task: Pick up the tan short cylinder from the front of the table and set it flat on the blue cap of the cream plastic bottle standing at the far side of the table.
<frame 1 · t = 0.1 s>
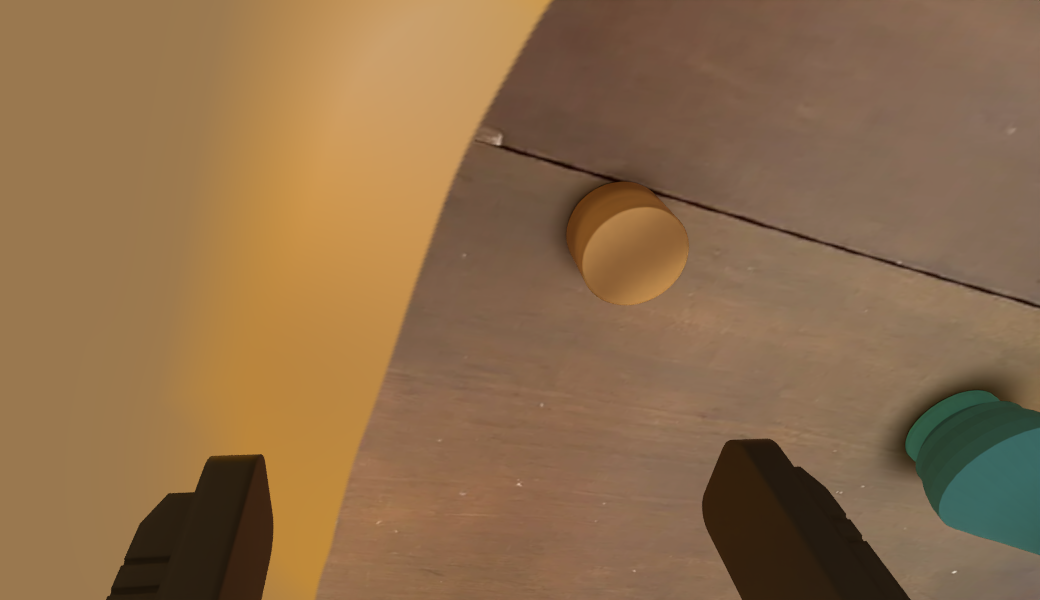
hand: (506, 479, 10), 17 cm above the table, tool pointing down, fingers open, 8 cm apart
perfume bottle: (949, 425, 41), on the table
tan short cylinder: (615, 229, 28), on the table
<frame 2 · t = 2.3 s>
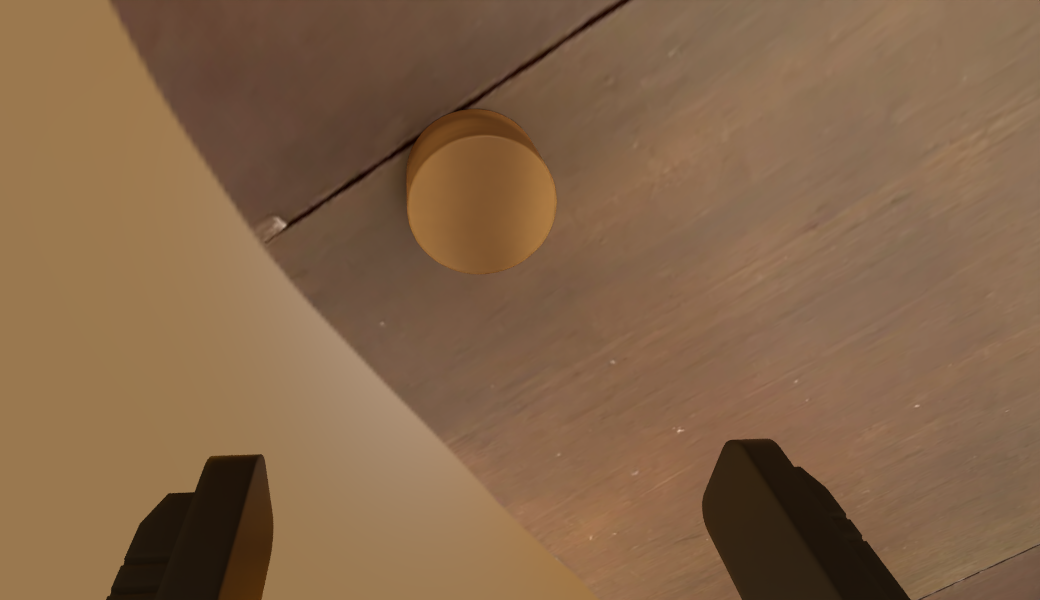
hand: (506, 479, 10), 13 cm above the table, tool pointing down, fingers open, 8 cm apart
tan short cylinder: (473, 176, 21), on the table
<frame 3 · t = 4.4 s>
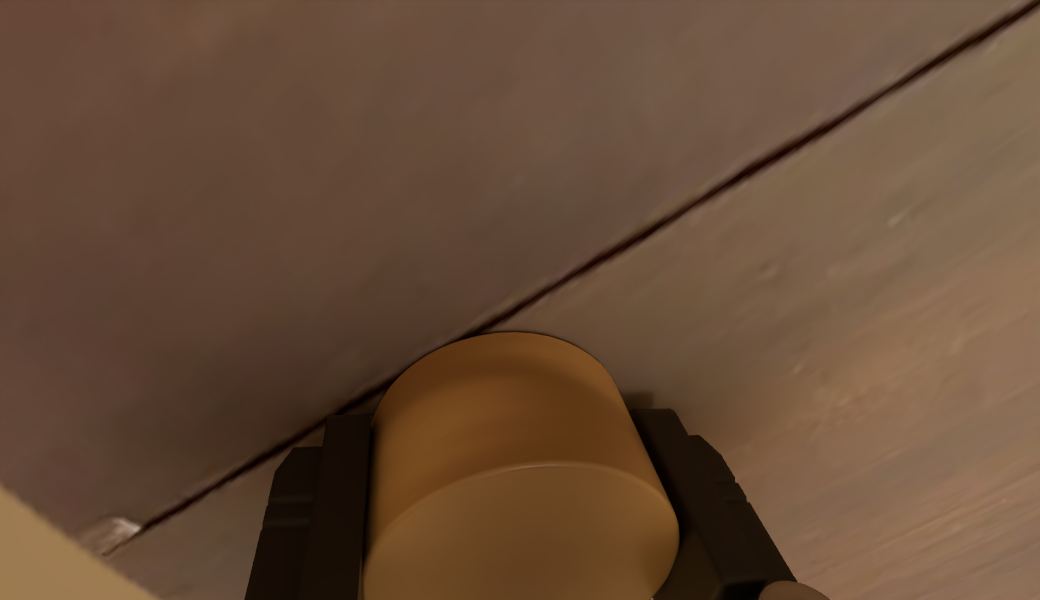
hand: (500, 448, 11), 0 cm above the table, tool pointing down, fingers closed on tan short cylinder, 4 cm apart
tan short cylinder: (499, 433, 11), on the table, touching gripper
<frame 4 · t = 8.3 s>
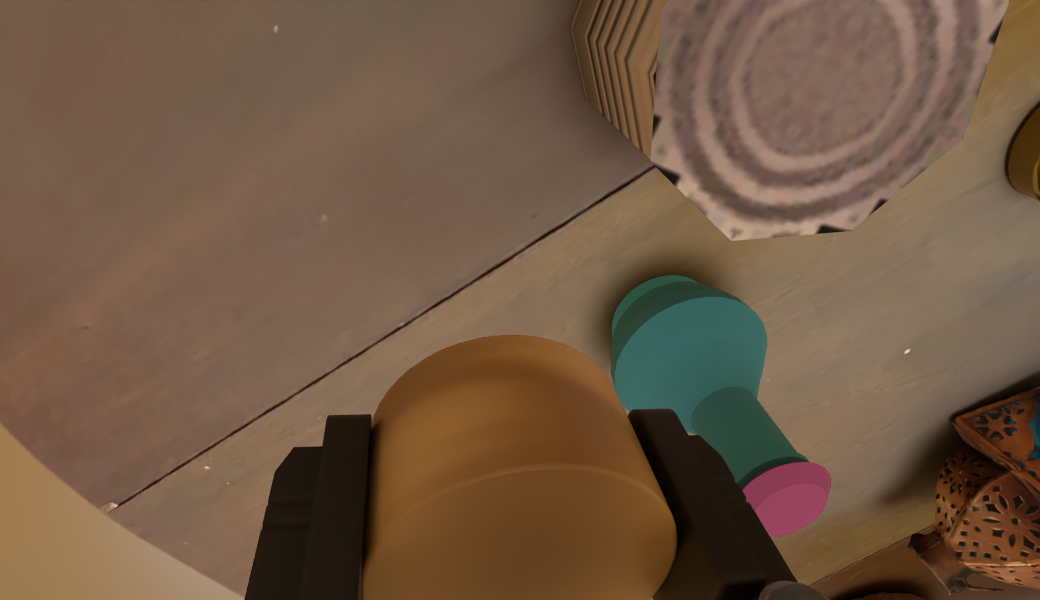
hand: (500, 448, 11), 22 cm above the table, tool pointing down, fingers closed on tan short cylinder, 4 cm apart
lantern: (1000, 421, 51), on the table
perfume bottle: (659, 317, 38), on the table
can: (680, 28, 29), on the table
tan short cylinder: (498, 435, 11), point 21 cm above the table, touching gripper
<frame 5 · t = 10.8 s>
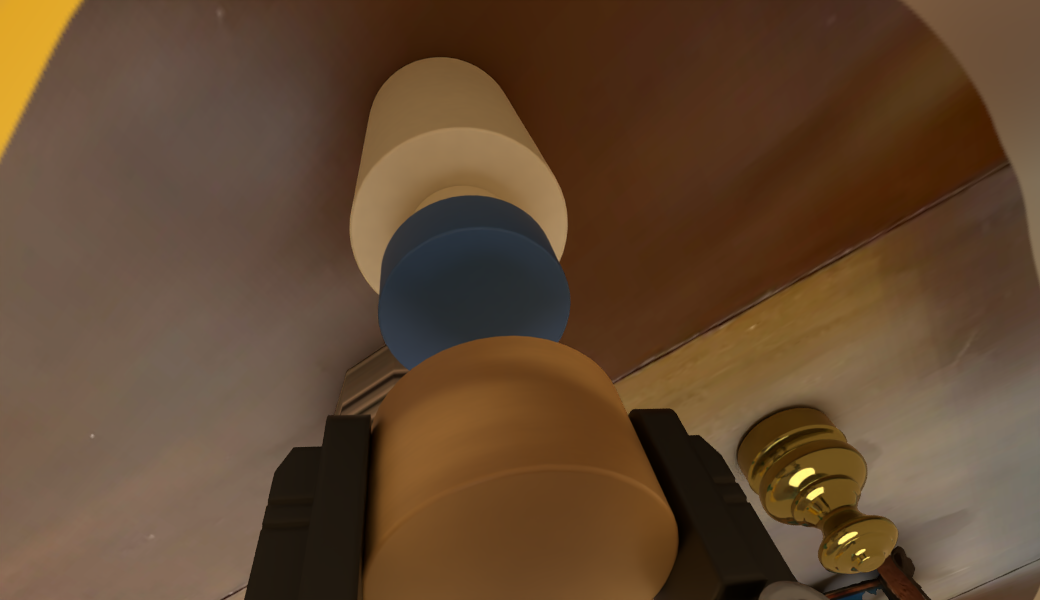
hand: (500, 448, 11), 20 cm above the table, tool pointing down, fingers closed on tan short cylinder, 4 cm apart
cream bottle: (443, 134, 28), on the table
brass weight: (780, 440, 44), on the table
can: (428, 406, 36), on the table
tan short cylinder: (499, 436, 11), point 20 cm above the table, touching gripper
when the fingers open (16 cm above the table, at t = 12.3 s): tan short cylinder stays where it is, resting on cream bottle.
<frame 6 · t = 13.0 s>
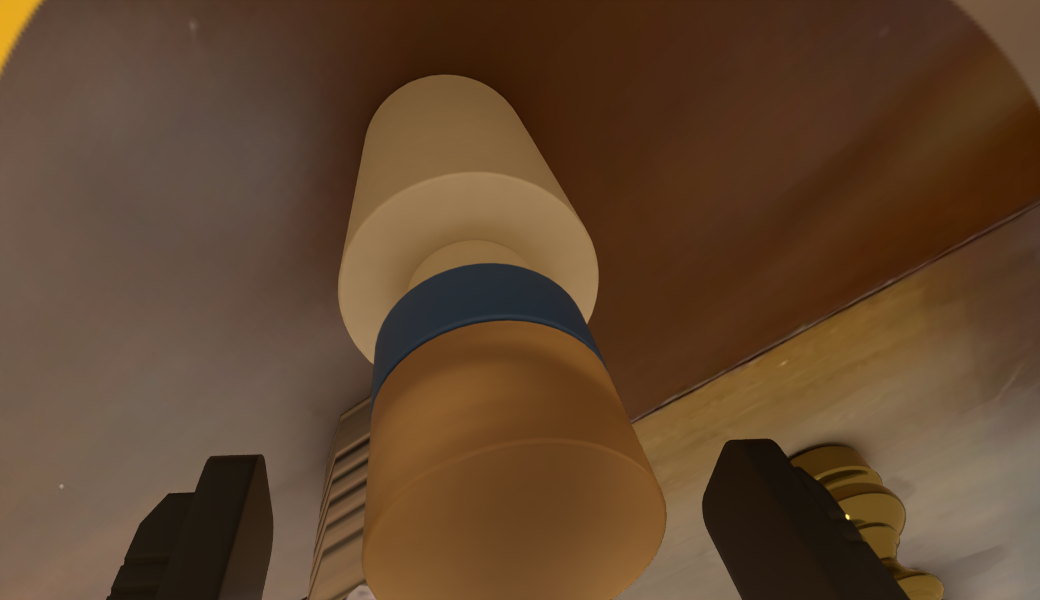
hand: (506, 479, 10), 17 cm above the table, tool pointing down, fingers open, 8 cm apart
cream bottle: (447, 159, 25), on the table
brass weight: (809, 479, 41), on the table
can: (430, 450, 33), on the table
tan short cylinder: (495, 419, 12), point 15 cm above the table, touching cream bottle
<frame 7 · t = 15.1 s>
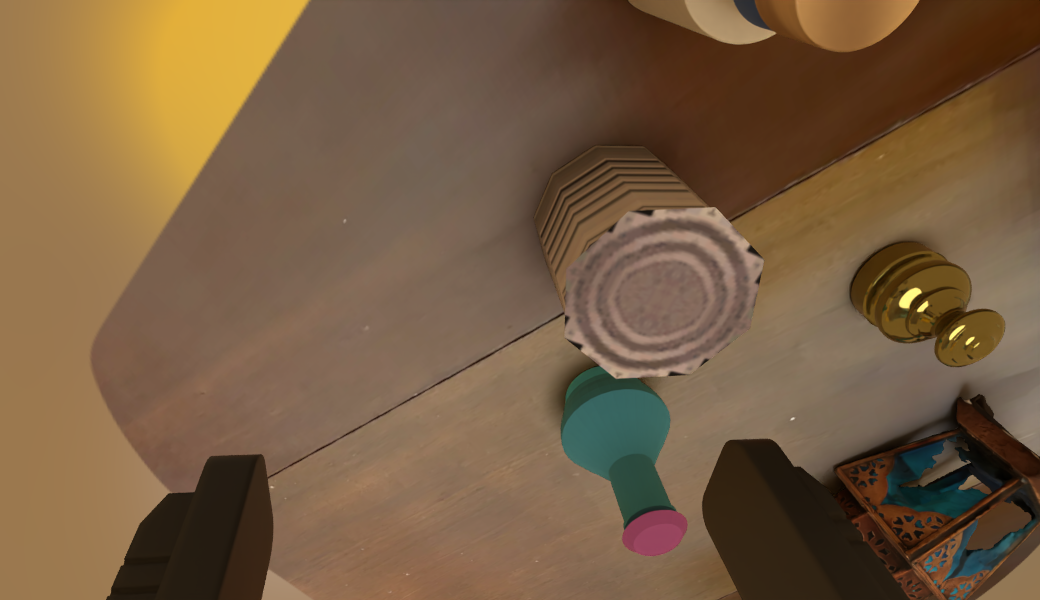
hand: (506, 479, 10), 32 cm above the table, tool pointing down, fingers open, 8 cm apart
brass weight: (888, 277, 50), on the table
lantern: (877, 471, 65), on the table
perfume bottle: (601, 392, 53), on the table
can: (608, 216, 44), on the table
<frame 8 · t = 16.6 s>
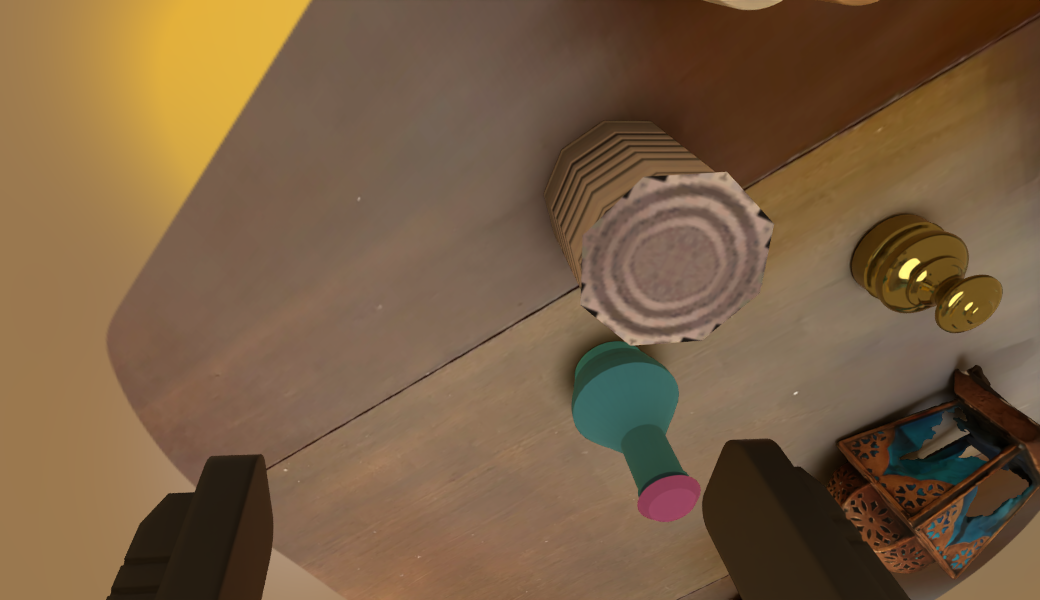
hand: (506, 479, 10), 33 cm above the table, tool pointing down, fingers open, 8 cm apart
brass weight: (887, 250, 52), on the table
lantern: (877, 444, 66), on the table
perfume bottle: (609, 369, 54), on the table
can: (616, 191, 45), on the table
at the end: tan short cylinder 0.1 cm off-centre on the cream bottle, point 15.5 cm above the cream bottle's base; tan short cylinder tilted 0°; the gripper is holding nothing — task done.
